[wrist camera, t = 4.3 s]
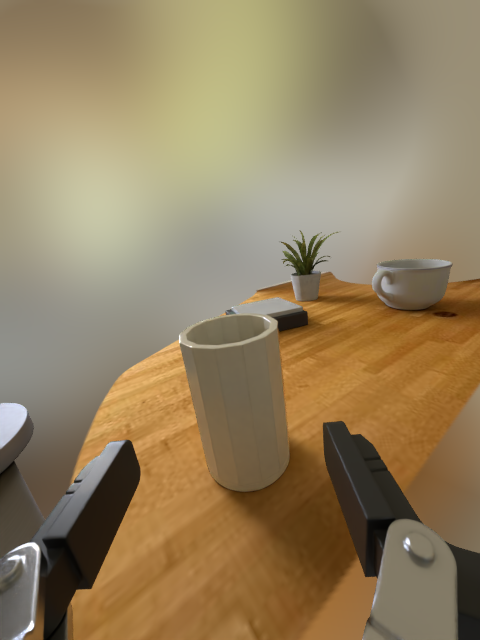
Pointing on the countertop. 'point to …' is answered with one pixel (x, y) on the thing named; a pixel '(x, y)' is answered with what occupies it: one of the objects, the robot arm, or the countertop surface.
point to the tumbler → (238, 398)
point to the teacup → (411, 282)
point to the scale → (275, 312)
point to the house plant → (305, 270)
